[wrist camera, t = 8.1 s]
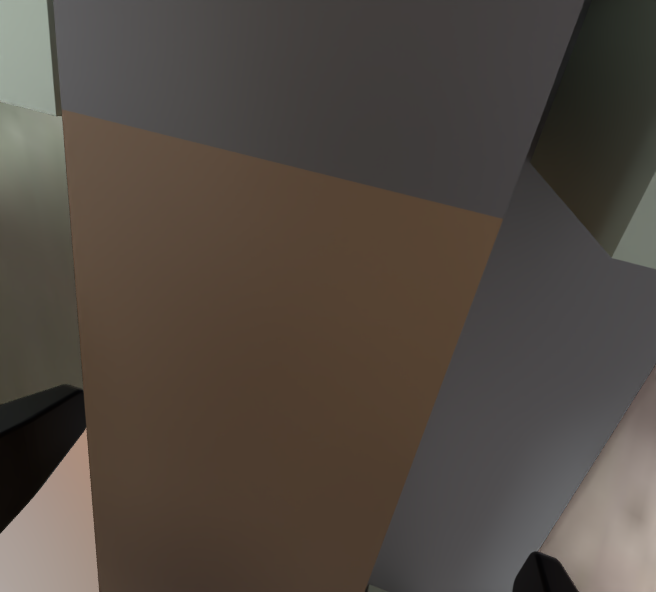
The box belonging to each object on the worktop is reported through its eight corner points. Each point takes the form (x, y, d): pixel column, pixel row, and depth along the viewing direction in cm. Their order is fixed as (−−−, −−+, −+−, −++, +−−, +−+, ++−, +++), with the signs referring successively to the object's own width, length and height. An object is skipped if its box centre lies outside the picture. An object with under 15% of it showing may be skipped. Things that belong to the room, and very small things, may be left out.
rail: (240, 570, 15) (117, 834, 10) (328, -1, 8) (38, -188, 2) (327, 605, 15) (249, 902, 9) (508, 32, 7) (623, -108, 2)
